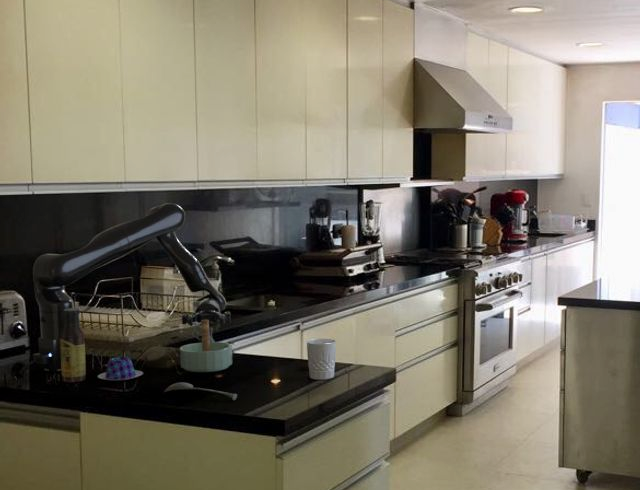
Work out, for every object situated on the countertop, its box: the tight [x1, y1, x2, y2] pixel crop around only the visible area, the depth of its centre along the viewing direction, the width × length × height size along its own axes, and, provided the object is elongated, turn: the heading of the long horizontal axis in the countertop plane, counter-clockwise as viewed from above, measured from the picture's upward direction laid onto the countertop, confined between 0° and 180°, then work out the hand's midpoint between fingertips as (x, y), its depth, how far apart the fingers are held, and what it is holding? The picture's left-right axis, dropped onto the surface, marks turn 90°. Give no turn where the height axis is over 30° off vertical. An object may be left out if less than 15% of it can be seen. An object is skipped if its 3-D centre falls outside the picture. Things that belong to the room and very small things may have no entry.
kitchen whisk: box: [191, 324, 216, 343], centre depth 299 cm, size 6×34×6 cm, turn 22°
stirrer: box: [200, 320, 211, 351], centre depth 268 cm, size 5×5×13 cm
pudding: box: [97, 356, 144, 382], centre depth 257 cm, size 12×12×5 cm
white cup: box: [306, 338, 337, 381], centre depth 254 cm, size 8×8×10 cm
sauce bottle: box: [60, 307, 87, 384], centre depth 252 cm, size 7×6×20 cm
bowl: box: [179, 341, 234, 373], centre depth 268 cm, size 15×15×6 cm
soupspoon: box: [163, 381, 238, 401], centre depth 235 cm, size 22×3×7 cm
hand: (205, 321), depth 273 cm, fingers open, 8 cm apart
